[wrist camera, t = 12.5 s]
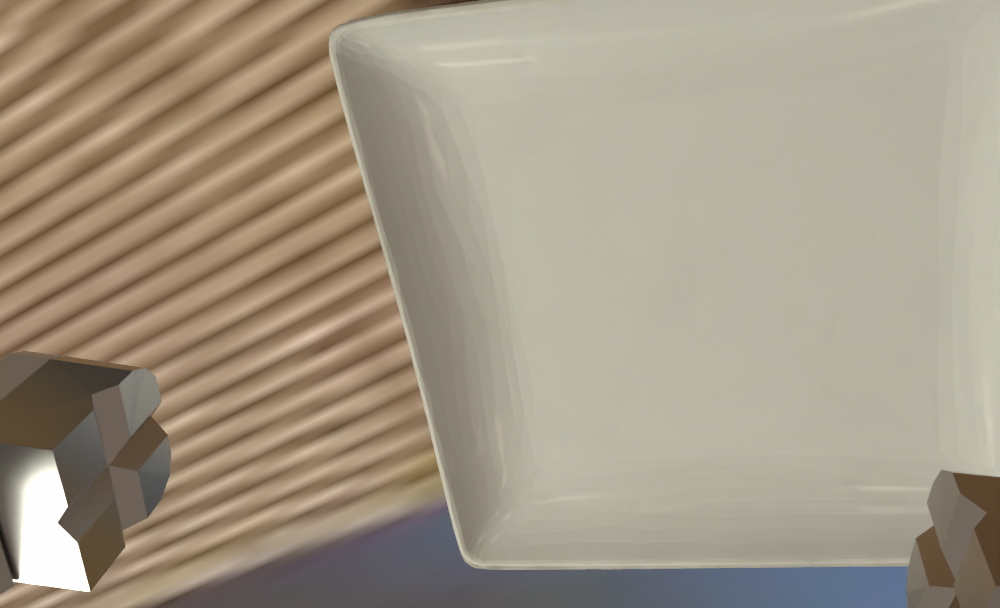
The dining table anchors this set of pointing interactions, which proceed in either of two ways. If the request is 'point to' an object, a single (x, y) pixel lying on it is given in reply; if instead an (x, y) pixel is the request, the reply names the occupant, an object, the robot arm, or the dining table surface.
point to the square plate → (689, 268)
